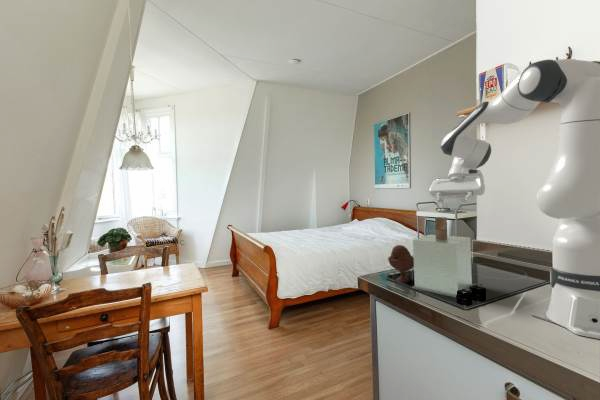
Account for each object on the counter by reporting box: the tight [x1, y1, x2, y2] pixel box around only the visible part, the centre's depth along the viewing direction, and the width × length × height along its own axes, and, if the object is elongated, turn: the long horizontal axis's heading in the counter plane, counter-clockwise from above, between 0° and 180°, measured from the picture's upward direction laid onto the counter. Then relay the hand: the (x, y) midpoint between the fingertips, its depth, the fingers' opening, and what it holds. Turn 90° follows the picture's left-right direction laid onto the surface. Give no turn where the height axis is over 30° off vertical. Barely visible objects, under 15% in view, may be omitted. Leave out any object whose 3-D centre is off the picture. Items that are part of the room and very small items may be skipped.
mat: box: [411, 283, 474, 298], centre depth 106 cm, size 17×17×1 cm
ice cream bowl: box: [387, 244, 414, 283], centre depth 115 cm, size 11×11×15 cm
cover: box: [412, 216, 473, 296], centre depth 105 cm, size 15×15×26 cm
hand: (451, 201), depth 113 cm, fingers open, 8 cm apart
